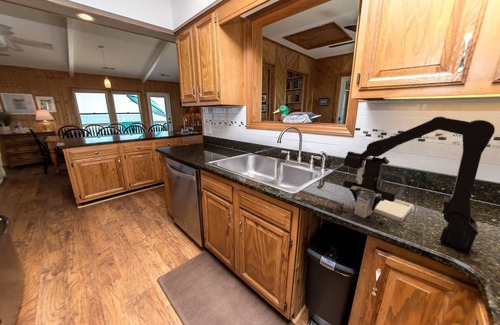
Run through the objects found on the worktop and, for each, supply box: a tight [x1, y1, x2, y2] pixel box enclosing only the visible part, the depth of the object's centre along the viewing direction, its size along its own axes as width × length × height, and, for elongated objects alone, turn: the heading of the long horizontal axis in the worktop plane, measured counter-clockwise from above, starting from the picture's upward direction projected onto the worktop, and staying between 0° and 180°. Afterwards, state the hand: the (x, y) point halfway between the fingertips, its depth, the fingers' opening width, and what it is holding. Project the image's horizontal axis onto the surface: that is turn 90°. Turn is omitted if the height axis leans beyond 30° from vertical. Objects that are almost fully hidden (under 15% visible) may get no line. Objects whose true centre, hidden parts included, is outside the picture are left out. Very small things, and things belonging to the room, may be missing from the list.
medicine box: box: [354, 190, 377, 219], centre depth 80 cm, size 8×4×9 cm, turn 127°
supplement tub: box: [355, 161, 367, 192], centre depth 106 cm, size 10×10×15 cm
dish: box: [373, 195, 414, 223], centre depth 85 cm, size 14×18×2 cm
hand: (364, 207), depth 81 cm, fingers open, 6 cm apart
